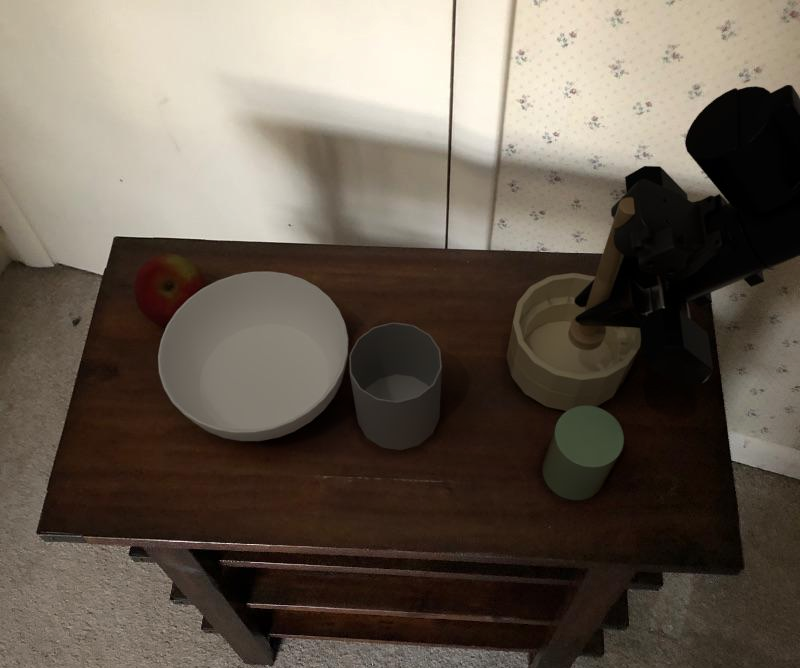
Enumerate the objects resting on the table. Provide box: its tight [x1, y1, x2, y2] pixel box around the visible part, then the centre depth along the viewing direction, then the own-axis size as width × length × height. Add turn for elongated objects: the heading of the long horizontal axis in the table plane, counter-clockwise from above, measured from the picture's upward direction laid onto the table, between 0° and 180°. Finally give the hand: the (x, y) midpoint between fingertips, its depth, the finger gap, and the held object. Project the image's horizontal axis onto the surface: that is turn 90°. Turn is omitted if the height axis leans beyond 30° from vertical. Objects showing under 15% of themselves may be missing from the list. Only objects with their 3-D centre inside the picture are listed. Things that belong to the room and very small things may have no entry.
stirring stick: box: [568, 197, 635, 350], centre depth 62 cm, size 3×3×17 cm
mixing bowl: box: [506, 272, 642, 412], centre depth 77 cm, size 12×12×7 cm
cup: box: [348, 321, 443, 451], centre depth 73 cm, size 8×8×10 cm
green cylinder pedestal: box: [541, 406, 625, 501], centre depth 71 cm, size 6×6×8 cm
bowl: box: [157, 271, 349, 442], centre depth 76 cm, size 18×18×7 cm
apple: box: [133, 253, 208, 329], centre depth 81 cm, size 8×8×8 cm
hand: (577, 312), depth 67 cm, fingers closed on stirring stick
